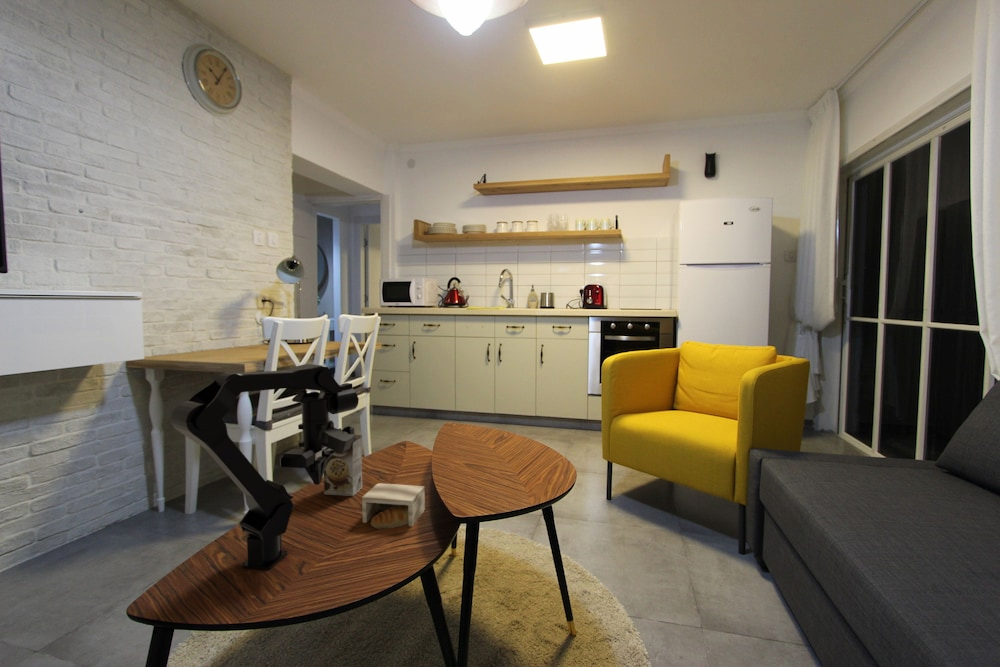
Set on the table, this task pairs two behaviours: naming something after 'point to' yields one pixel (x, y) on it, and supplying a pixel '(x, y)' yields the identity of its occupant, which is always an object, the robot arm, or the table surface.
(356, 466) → the coffee box
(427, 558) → the table surface
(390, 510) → the pastry
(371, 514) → the plain beige box
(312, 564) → the table surface
